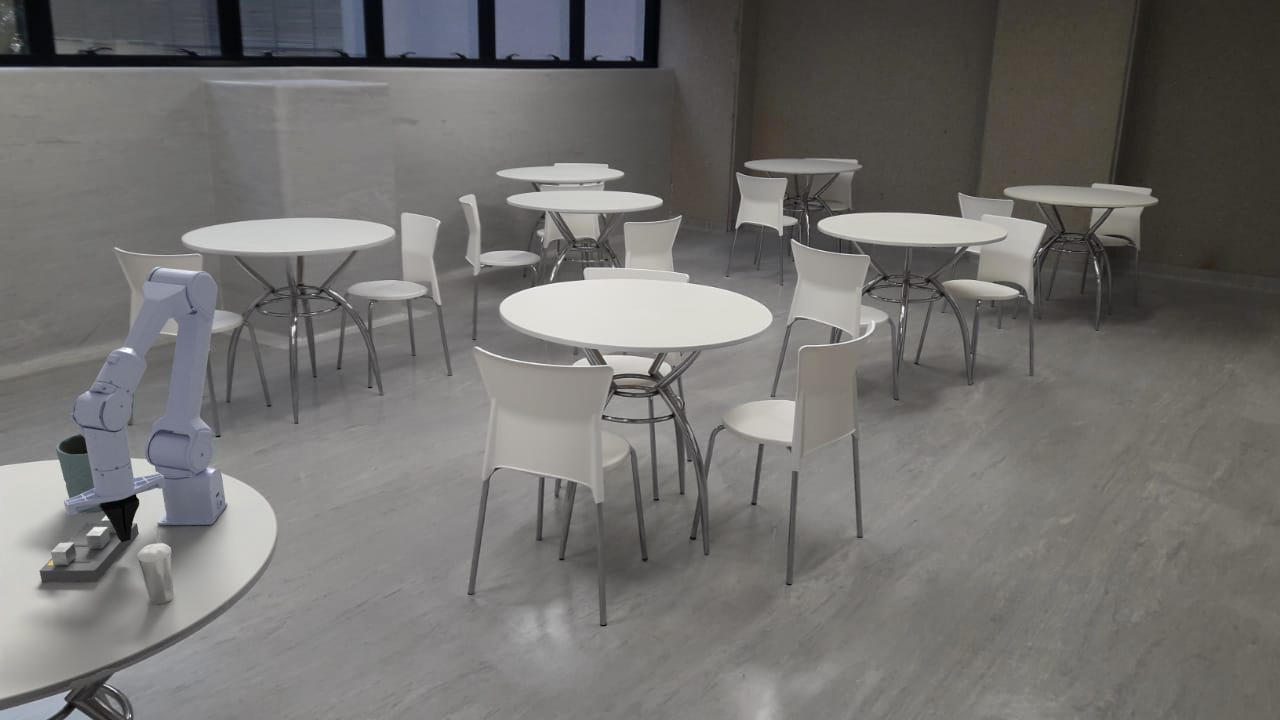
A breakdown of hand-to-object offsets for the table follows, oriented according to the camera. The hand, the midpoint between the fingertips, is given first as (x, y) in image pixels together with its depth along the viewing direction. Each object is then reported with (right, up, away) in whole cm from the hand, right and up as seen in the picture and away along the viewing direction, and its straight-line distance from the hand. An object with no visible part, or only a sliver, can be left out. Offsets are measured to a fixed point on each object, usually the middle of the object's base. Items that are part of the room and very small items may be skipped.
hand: (124, 538), depth 162 cm
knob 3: (-4, +1, +5) cm, 7 cm away
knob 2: (-4, -1, 0) cm, 4 cm away
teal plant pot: (-14, +3, +19) cm, 24 cm away
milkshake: (+11, -7, -10) cm, 16 cm away
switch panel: (-6, -3, +1) cm, 7 cm away
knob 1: (-7, -3, -5) cm, 9 cm away
